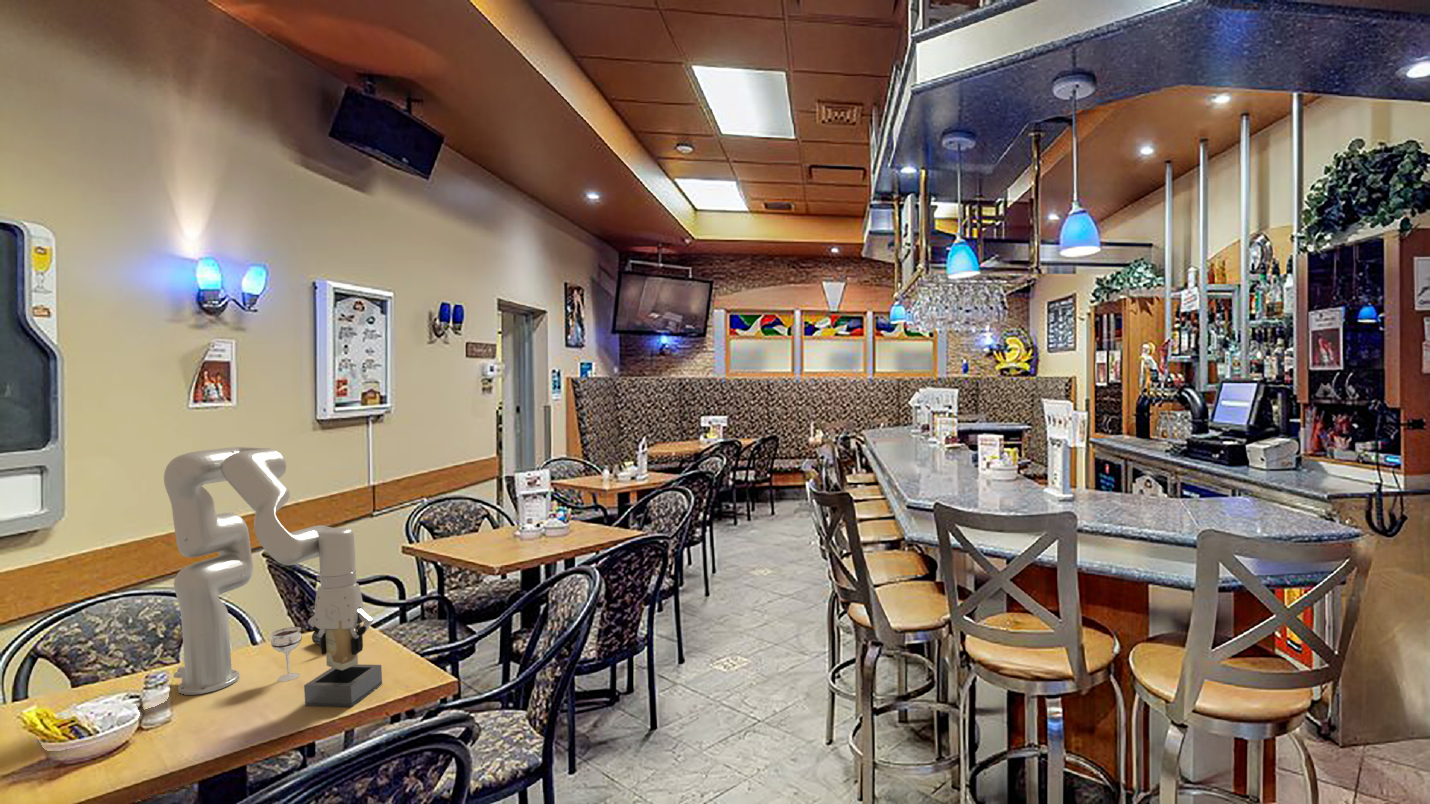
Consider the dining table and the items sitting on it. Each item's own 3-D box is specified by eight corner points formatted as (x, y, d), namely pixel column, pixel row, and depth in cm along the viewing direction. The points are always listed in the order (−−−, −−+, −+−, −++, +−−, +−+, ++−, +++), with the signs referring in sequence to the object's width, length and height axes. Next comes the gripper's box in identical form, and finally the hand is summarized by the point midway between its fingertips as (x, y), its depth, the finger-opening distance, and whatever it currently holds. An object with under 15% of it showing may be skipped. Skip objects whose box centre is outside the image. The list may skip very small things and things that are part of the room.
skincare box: (325, 666, 165) (323, 616, 165) (342, 659, 169) (340, 611, 168) (342, 671, 162) (340, 620, 162) (359, 664, 166) (357, 614, 166)
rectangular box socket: (305, 706, 161) (304, 685, 160) (338, 683, 172) (337, 664, 172) (352, 707, 159) (350, 686, 159) (382, 684, 171) (381, 664, 171)
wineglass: (309, 671, 180) (307, 626, 180) (291, 683, 174) (288, 636, 173) (285, 671, 181) (283, 626, 181) (266, 682, 174) (264, 636, 174)
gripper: (293, 584, 162) (297, 658, 163) (362, 585, 160) (366, 659, 161) (315, 575, 169) (319, 645, 170) (381, 575, 168) (385, 647, 168)
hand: (342, 652), depth 165 cm, fingers closed on skincare box, 7 cm apart
